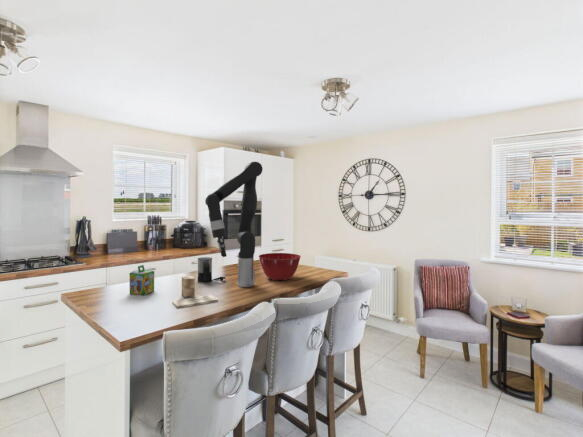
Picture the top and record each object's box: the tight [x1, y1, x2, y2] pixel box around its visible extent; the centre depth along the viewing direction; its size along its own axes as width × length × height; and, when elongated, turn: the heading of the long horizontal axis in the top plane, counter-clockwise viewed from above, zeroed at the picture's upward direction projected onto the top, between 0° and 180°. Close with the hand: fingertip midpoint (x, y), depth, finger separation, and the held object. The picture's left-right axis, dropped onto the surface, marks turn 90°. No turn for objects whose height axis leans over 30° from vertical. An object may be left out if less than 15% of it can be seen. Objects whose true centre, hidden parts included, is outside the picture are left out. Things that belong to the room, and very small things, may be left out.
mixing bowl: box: [258, 252, 302, 281], centre depth 208 cm, size 28×28×15 cm
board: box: [171, 294, 219, 309], centre depth 154 cm, size 20×9×1 cm, turn 126°
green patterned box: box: [129, 264, 155, 296], centre depth 167 cm, size 9×9×15 cm
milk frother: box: [196, 256, 226, 284], centre depth 195 cm, size 14×16×15 cm
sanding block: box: [181, 275, 196, 299], centre depth 163 cm, size 5×6×10 cm
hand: (224, 256), depth 176 cm, fingers open, 8 cm apart
